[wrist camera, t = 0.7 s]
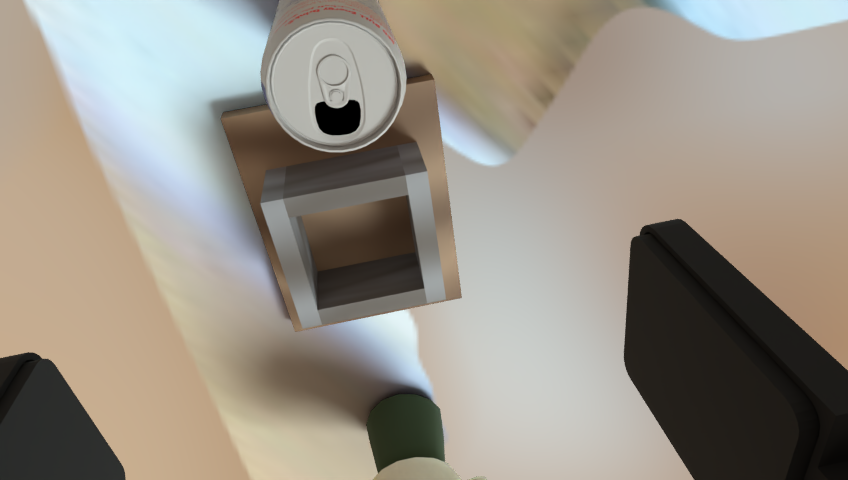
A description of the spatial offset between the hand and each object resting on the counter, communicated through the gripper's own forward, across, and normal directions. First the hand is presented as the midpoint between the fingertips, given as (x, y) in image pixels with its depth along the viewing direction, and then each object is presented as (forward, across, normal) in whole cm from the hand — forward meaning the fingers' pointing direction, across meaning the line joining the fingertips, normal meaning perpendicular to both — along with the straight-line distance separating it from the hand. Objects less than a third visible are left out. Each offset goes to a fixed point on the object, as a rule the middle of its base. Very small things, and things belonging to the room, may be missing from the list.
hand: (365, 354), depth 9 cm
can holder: (+26, +1, +11) cm, 28 cm away
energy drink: (+26, 0, -1) cm, 26 cm away
